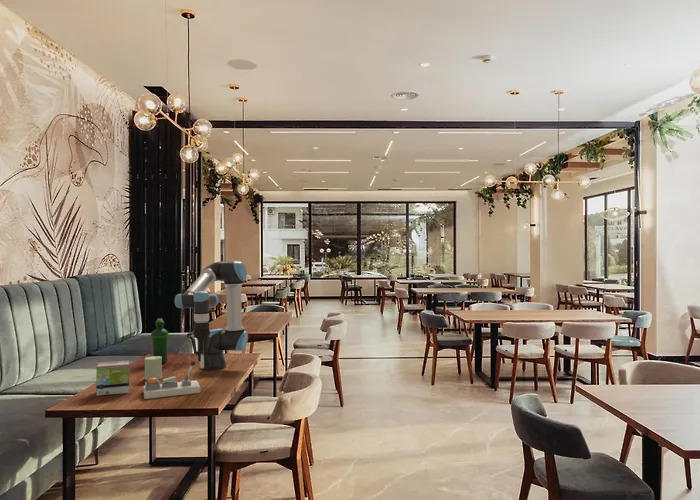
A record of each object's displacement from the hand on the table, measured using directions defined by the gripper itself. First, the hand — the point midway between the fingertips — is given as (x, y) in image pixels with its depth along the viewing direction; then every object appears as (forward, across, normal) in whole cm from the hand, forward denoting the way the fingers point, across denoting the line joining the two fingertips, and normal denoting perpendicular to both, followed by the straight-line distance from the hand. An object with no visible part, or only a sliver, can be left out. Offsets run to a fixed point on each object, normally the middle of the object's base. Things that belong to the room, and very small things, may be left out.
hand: (202, 367), depth 263 cm
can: (+11, -22, +35) cm, 43 cm away
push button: (+6, -24, 0) cm, 25 cm away
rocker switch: (+5, -16, 0) cm, 16 cm away
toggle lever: (+5, -8, 0) cm, 9 cm away
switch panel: (+11, -15, 0) cm, 18 cm away
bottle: (+11, -15, +77) cm, 79 cm away
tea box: (+11, -42, +13) cm, 45 cm away
